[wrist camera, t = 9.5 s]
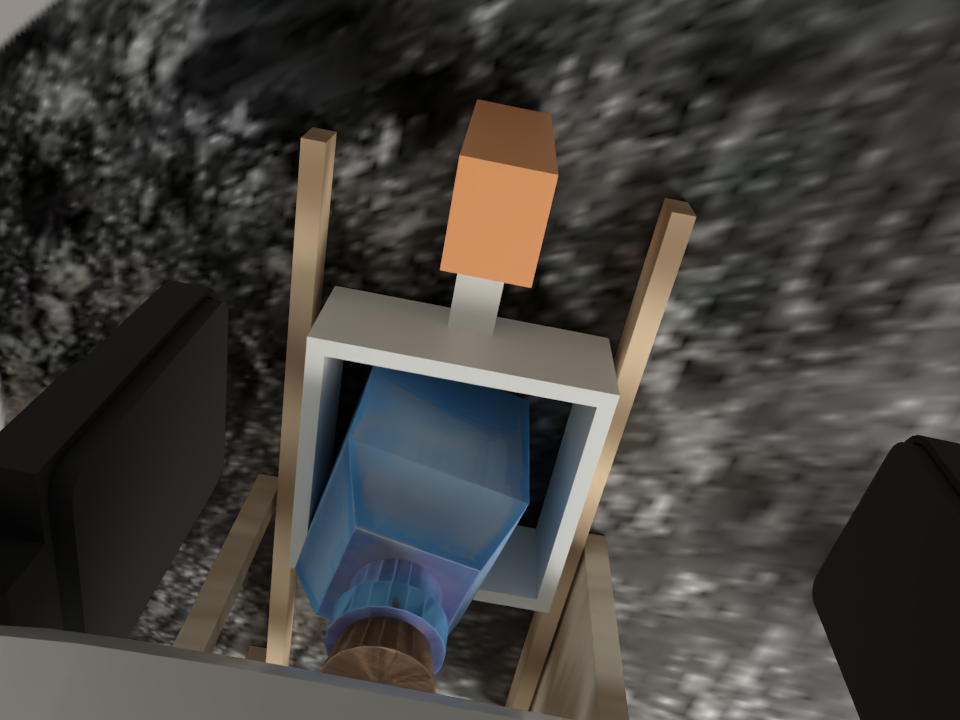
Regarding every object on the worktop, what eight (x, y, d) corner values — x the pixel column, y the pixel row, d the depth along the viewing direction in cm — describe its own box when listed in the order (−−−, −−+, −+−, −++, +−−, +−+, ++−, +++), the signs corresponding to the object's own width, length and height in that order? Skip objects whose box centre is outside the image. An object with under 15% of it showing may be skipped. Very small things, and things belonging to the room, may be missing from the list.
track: (312, 127, 25) (300, 137, 24) (687, 202, 26) (696, 216, 24) (272, 669, 39) (263, 695, 37) (519, 711, 39) (518, 738, 38)
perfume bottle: (333, 461, 32) (239, 717, 22) (381, 343, 29) (299, 574, 19) (469, 510, 33) (442, 779, 22) (529, 400, 30) (529, 651, 20)
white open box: (355, 74, 24) (296, 122, 18) (669, 138, 24) (716, 206, 18) (314, 499, 33) (264, 629, 26) (546, 541, 33) (550, 679, 27)
